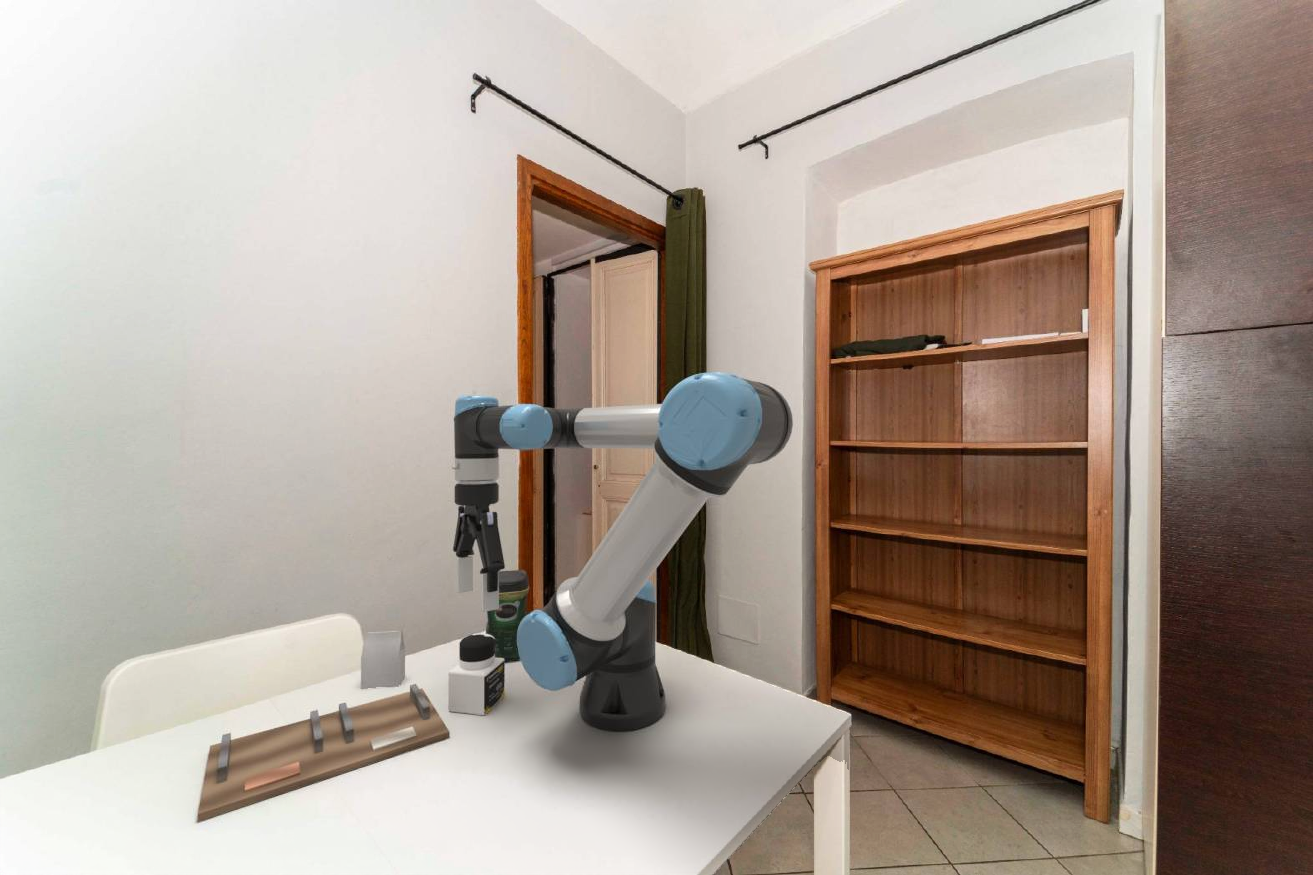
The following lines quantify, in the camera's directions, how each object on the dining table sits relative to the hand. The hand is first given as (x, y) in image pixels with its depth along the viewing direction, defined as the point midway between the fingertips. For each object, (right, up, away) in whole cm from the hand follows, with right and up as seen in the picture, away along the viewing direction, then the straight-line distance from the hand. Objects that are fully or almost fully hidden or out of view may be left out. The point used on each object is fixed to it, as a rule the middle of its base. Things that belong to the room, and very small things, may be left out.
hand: (476, 600), depth 92 cm
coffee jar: (-1, -19, +21) cm, 28 cm away
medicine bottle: (0, -19, 0) cm, 19 cm away
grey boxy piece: (-21, -19, +8) cm, 29 cm away
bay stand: (-18, -19, -12) cm, 29 cm away
